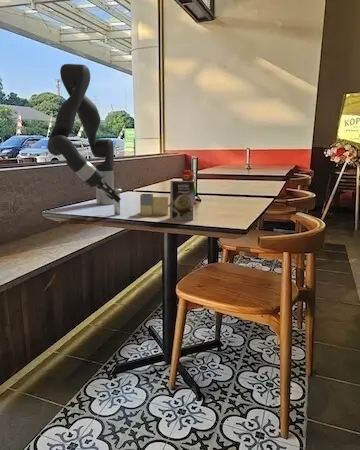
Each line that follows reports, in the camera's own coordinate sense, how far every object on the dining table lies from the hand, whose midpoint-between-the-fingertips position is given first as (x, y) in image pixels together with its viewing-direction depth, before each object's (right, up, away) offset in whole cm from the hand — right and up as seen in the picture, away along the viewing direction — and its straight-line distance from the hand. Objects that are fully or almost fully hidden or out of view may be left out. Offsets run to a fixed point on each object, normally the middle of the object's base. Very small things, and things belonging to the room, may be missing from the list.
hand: (116, 199), depth 162 cm
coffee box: (+29, -9, -6) cm, 31 cm away
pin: (0, -7, +2) cm, 7 cm away
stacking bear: (+32, +1, +38) cm, 50 cm away
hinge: (+17, -6, +6) cm, 19 cm away
